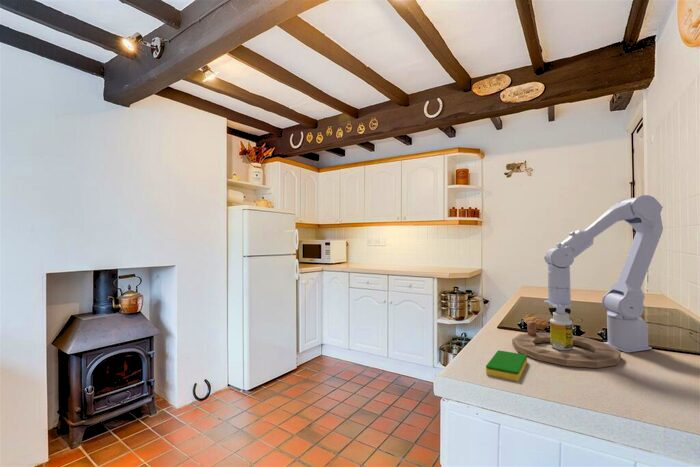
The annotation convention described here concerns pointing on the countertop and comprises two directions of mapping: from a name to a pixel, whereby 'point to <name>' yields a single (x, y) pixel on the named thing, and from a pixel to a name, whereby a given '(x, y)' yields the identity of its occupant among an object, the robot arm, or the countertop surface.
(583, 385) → the countertop surface
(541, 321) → the pastry
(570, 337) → the supplement bottle
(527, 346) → the faceted tan ring
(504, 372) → the dish sponge
